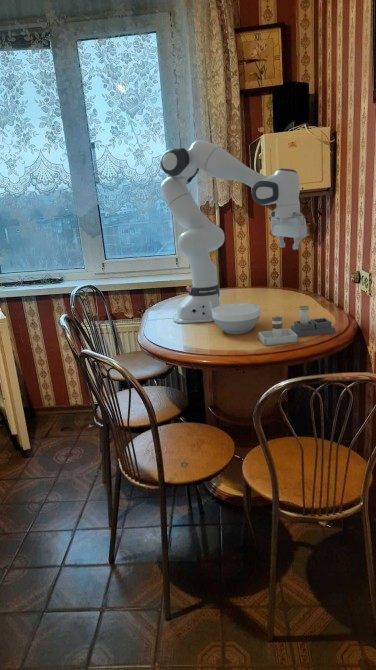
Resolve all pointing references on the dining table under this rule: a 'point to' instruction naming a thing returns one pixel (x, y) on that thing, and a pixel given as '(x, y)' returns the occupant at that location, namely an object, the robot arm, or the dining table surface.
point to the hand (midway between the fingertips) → (288, 248)
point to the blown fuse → (277, 326)
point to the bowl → (236, 317)
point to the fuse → (304, 315)
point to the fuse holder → (313, 327)
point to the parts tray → (268, 339)
